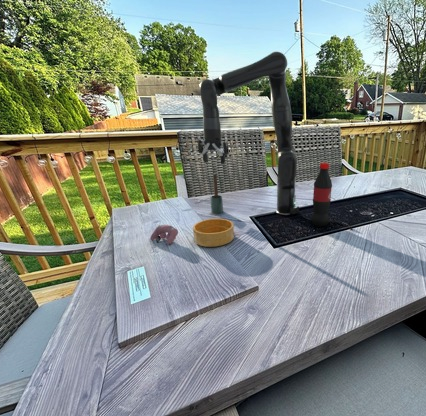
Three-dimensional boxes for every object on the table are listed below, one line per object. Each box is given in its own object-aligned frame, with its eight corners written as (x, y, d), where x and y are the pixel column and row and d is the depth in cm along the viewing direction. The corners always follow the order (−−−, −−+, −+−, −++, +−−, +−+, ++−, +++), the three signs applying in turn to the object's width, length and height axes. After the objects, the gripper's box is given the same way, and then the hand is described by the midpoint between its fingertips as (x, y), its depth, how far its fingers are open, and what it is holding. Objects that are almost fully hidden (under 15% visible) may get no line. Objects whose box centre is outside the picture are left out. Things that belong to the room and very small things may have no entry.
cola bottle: (330, 223, 129) (336, 162, 119) (324, 229, 122) (330, 165, 112) (315, 220, 132) (319, 160, 122) (308, 225, 125) (312, 163, 115)
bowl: (240, 233, 113) (239, 220, 111) (223, 250, 99) (222, 236, 97) (207, 229, 115) (206, 216, 113) (186, 245, 101) (184, 231, 99)
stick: (219, 211, 135) (217, 173, 128) (218, 212, 133) (215, 174, 126) (216, 211, 135) (214, 173, 128) (215, 212, 133) (212, 173, 127)
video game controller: (177, 244, 104) (181, 227, 105) (168, 244, 100) (172, 226, 100) (157, 240, 107) (162, 223, 108) (148, 239, 103) (152, 222, 103)
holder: (225, 212, 136) (224, 195, 133) (219, 216, 131) (218, 198, 128) (215, 211, 137) (214, 194, 134) (209, 214, 132) (208, 197, 129)
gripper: (230, 128, 122) (231, 163, 128) (202, 126, 125) (204, 160, 130) (222, 129, 116) (224, 165, 121) (193, 127, 118) (196, 163, 123)
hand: (214, 163), depth 126 cm, fingers open, 8 cm apart
